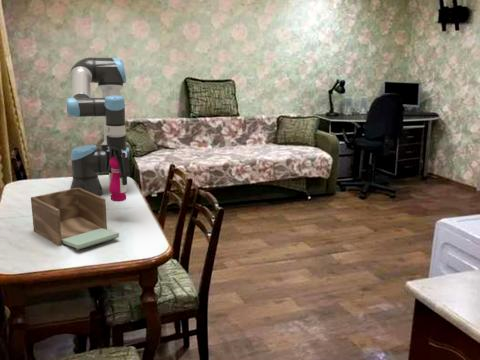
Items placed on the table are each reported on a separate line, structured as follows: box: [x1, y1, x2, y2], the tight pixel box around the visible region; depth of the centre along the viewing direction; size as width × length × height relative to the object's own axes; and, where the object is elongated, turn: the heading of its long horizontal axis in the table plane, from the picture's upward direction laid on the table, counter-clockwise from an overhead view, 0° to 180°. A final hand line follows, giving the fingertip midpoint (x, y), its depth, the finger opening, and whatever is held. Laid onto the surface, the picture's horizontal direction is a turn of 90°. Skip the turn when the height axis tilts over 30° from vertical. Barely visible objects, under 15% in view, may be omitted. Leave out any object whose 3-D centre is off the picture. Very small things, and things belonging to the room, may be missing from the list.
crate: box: [30, 187, 108, 247], centre depth 189 cm, size 20×20×14 cm
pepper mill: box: [108, 157, 127, 203], centre depth 200 cm, size 7×7×20 cm
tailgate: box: [62, 228, 120, 251], centre depth 181 cm, size 17×2×12 cm
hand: (118, 189), depth 201 cm, fingers closed on pepper mill, 7 cm apart
